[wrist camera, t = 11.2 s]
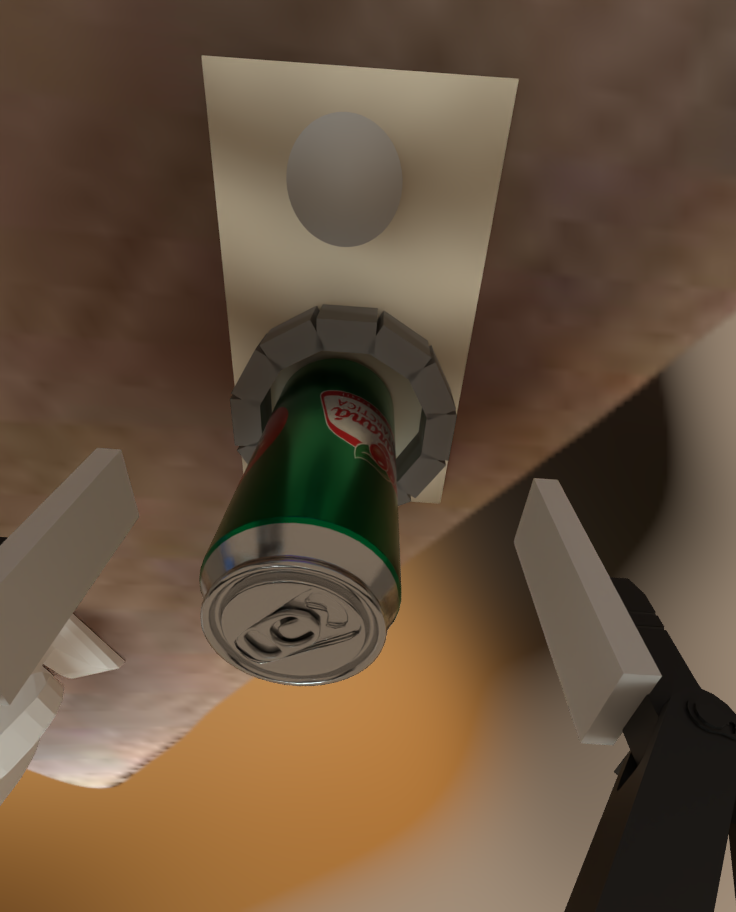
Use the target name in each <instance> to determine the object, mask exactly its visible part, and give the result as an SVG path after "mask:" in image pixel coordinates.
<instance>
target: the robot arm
mask: <svg viewBox="0 0 736 912" xmlns="http://www.w3.org/2000/svg"><path fill="white" fill-rule="evenodd" d="M138 517H139V513H138V510H137V506H136V502H135V499H134V495H133V491H132V487H131V484H130V480H129V476H128V473H127V469H126V465H125V462H124V458H123V454H122V450H120V449H106V448H96V449H95V450H94V451H93V452H92V453H91V454H90V455H89V457H88V458H87V459H86V460H85V461H84V462H83V463H82V464H81V465H80V466H79V467H78V468H77V469H76V470H75V471H74V472H73V473H72V474H71V475H70V476H69V477H68V478H67V479H66V480H65V481H64V482H63V483H62V484H61V485H60V486H59V487H58V488H57V489H56V490H55V491H54V492H53V493H52V494H51V495H50V496H49V497H48V498H47V499H46V500H45V501H44V502H43V503H42V504H41V505H40V506H39V507H38V508H37V509H36V510H35V511H34V512H33V513H32V514H31V515H30V516H29V517H28V518H27V519H26V520H25V521H24V522H23V523H22V524H21V525H20V526H19V527H18V528H17V529H16V530H15V531H14V532H13V533H12V534H11V535H10V536H9V537H8V538H7V537H0V705H9V706H10V704H11V703H12V701H13V700H14V698H15V697H16V695H17V694H18V692H19V691H20V690H21V688H22V687H23V685H24V684H25V682H26V681H27V679H28V678H29V676H30V675H31V674H32V672H33V671H34V669H35V668H36V666H37V665H38V663H39V662H40V660H41V659H42V657H43V656H44V655H45V653H46V652H47V650H48V649H49V647H50V646H51V644H52V643H53V641H54V640H55V638H56V637H57V636H58V634H59V633H60V631H61V630H62V628H63V627H64V625H65V624H66V622H67V621H68V620H69V618H70V617H71V615H72V614H73V612H74V611H75V609H76V608H77V606H78V605H79V603H80V602H81V601H82V599H83V598H84V596H85V595H86V593H87V592H88V590H89V589H90V587H91V586H92V585H93V583H94V582H95V580H96V579H97V577H98V576H99V574H100V573H101V571H102V570H103V568H104V567H105V566H106V564H107V563H108V561H109V560H110V558H111V557H112V555H113V554H114V552H115V551H116V550H117V548H118V547H119V545H120V544H121V542H122V541H123V539H124V538H125V536H126V535H127V533H128V532H129V531H130V529H131V528H132V526H133V525H134V523H135V522H136V520H137V519H138ZM514 545H515V548H516V551H517V553H518V557H519V559H520V562H521V566H522V569H523V571H524V575H525V578H526V581H527V584H528V587H529V589H530V593H531V595H532V599H533V602H534V605H535V608H536V611H537V614H538V617H539V620H540V623H541V626H542V629H543V632H544V635H545V638H546V641H547V644H548V647H549V650H550V653H551V656H552V659H553V662H554V665H555V668H556V671H557V674H558V677H559V680H560V683H561V686H562V689H563V692H564V695H565V698H566V701H567V704H568V707H569V710H570V713H571V716H572V720H573V723H574V725H575V728H576V731H577V734H578V738H579V741H580V743H587V744H602V745H614V744H615V742H616V741H617V739H618V738H619V736H620V735H621V734H622V732H623V733H624V736H625V738H626V740H627V743H628V745H629V748H630V751H629V752H628V754H627V755H626V756H625V758H624V759H623V760H622V762H621V763H620V764H619V766H618V767H617V768H616V770H615V771H614V772H615V773H616V774H617V775H618V777H617V779H616V782H615V784H614V787H613V790H612V792H611V794H610V797H609V800H608V802H607V805H606V807H605V810H604V812H603V815H602V818H601V820H600V822H599V825H598V827H597V830H596V832H595V835H594V838H593V840H592V843H591V845H590V848H589V850H588V853H587V855H586V858H585V861H584V863H583V865H582V868H581V871H580V873H579V876H578V878H577V881H576V883H575V886H574V888H573V891H572V893H571V896H570V899H569V901H568V903H567V906H566V909H565V911H564V912H714V908H715V903H716V898H717V892H718V887H719V881H720V876H721V871H722V865H723V860H724V854H725V850H726V844H727V839H728V834H729V841H730V851H731V860H732V870H733V879H734V888H735V898H736V714H735V713H734V712H733V711H732V709H731V708H730V707H729V706H728V705H727V704H726V703H724V702H723V701H722V700H720V699H719V698H718V697H716V696H715V695H714V694H712V693H709V692H707V691H705V690H703V689H701V687H700V686H699V685H698V683H697V681H696V680H695V678H694V676H693V675H692V673H691V671H690V670H689V668H688V666H687V665H686V663H685V661H684V660H683V658H682V656H681V655H680V653H679V651H678V649H677V648H676V646H675V644H674V643H673V641H672V639H671V638H670V636H669V634H668V632H667V631H666V630H664V626H663V624H662V622H661V621H660V619H659V617H658V616H656V615H655V610H654V609H653V607H652V605H651V604H650V602H649V601H648V599H647V597H646V595H645V594H644V593H643V592H642V591H641V590H640V589H639V588H638V587H637V586H635V585H634V584H633V583H632V582H631V581H630V580H629V579H626V578H610V577H609V576H608V574H607V572H606V570H605V568H604V566H603V564H602V562H601V561H600V559H599V557H598V555H597V553H596V551H595V549H594V547H593V545H592V543H591V542H590V540H589V538H588V536H587V534H586V532H585V530H584V529H583V527H582V525H581V523H580V521H579V519H578V517H577V515H576V514H575V511H574V510H573V508H572V506H571V504H570V502H569V500H568V498H567V496H566V495H565V493H564V491H563V489H562V487H561V485H560V483H559V481H558V480H552V479H538V478H534V479H533V482H532V485H531V489H530V492H529V495H528V498H527V501H526V504H525V507H524V511H523V514H522V517H521V520H520V523H519V526H518V530H517V533H516V536H515V539H514Z"/></svg>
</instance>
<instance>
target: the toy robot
mask: <svg viewBox="0 0 736 912" xmlns="http://www.w3.org/2000/svg"><path fill="white" fill-rule="evenodd" d="M124 663H125V661H124V660H123V659H122V658H121V657H120V656H119V655H118V654H117V653H116V652H114V651H113V650H112V649H111V648H110V647H109V646H108V645H107V644H106V643H105V642H104V641H102V640H101V639H100V638H99V637H98V636H97V635H96V634H95V633H94V632H93V631H91V630H90V629H89V628H88V627H87V626H86V625H85V624H84V623H83V622H82V621H80V620H79V619H78V618H77V617H76V616H75V615H74V614H72V615H71V617H70V618H69V620H68V621H67V622H66V624H65V625H64V627H63V628H62V630H61V631H60V633H59V634H58V636H57V637H56V638H55V640H54V641H53V643H52V644H51V646H50V647H49V649H48V650H47V652H46V653H45V655H44V656H43V657H42V659H41V660H40V662H39V663H38V665H37V666H36V668H35V669H34V671H33V672H32V674H31V675H30V676H29V678H28V679H27V681H26V682H25V684H24V685H23V687H22V688H21V690H20V691H19V692H18V694H17V695H16V697H15V698H14V700H13V701H12V703H11V704H10V706H9V705H0V805H1V804H2V803H3V801H4V800H5V799H6V797H7V796H8V795H9V794H10V792H11V791H12V789H13V788H14V787H15V785H16V784H17V783H18V781H19V780H20V778H21V777H22V775H23V774H24V772H25V770H26V769H27V767H28V766H29V764H30V762H31V760H32V758H33V756H34V754H35V752H36V750H37V747H38V744H39V741H40V737H41V736H42V735H43V733H44V732H45V731H46V729H47V728H48V726H49V725H50V723H51V722H52V720H53V719H54V717H55V716H56V714H57V712H58V709H59V707H60V705H61V703H62V700H63V693H64V686H63V684H62V683H60V682H59V681H58V680H57V679H55V678H54V676H53V675H52V674H51V673H50V672H49V671H48V670H47V669H45V668H44V667H43V666H42V665H43V664H44V665H46V666H47V667H49V668H50V669H52V670H53V671H55V672H57V673H58V674H60V675H61V676H64V677H67V678H70V679H73V678H78V677H82V676H87V675H91V674H96V673H100V672H105V671H109V670H114V669H118V668H120V667H121V666H122V665H123V664H124Z"/></svg>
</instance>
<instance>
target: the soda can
mask: <svg viewBox="0 0 736 912" xmlns="http://www.w3.org/2000/svg"><path fill="white" fill-rule="evenodd" d="M199 582H200V591H201V594H202V597H203V602H202V607H201V626H202V630H203V632H204V635H205V637H206V639H207V641H208V642H209V644H210V646H211V647H212V648H213V649H214V650H215V652H216V653H217V654H218V655H219V656H220V657H222V658H223V659H224V660H225V661H226V662H228V663H229V664H231V665H232V666H234V667H235V668H237V669H239V670H241V671H243V672H244V673H246V674H249V675H251V676H254V677H256V678H259V679H262V680H266V681H269V682H273V683H278V684H284V685H293V686H315V685H325V684H330V683H334V682H338V681H342V680H345V679H348V678H350V677H352V676H354V675H356V674H358V673H360V672H361V671H363V670H364V669H366V668H367V667H368V666H369V665H370V664H372V663H373V662H374V661H375V659H376V658H377V657H378V655H379V654H380V652H381V650H382V648H383V646H384V643H385V640H386V635H387V630H388V629H389V627H390V626H391V624H392V623H393V622H394V620H395V618H396V616H397V614H398V611H399V608H400V603H401V571H400V547H399V522H398V497H397V472H396V448H395V423H394V406H393V401H392V398H391V395H390V392H389V390H388V389H387V387H386V385H385V384H384V382H383V381H382V380H381V379H380V378H379V377H378V376H377V375H376V374H375V373H374V372H373V371H371V370H370V369H368V368H367V367H365V366H363V365H361V364H359V363H357V362H354V361H350V360H346V359H338V358H330V359H322V360H317V361H314V362H312V363H309V364H307V365H305V366H304V367H302V368H300V369H299V370H298V371H297V372H295V373H294V374H293V375H292V376H291V377H290V379H289V380H288V381H287V383H286V385H285V386H284V388H283V390H282V392H281V395H280V397H279V399H278V401H277V403H276V405H275V407H274V410H273V412H272V414H271V416H270V418H269V420H268V422H267V425H266V427H265V429H264V431H263V433H262V435H261V437H260V440H259V442H258V444H257V446H256V448H255V450H254V452H253V455H252V457H251V459H250V461H249V463H248V465H247V467H246V470H245V472H244V474H243V476H242V478H241V480H240V482H239V485H238V487H237V489H236V491H235V493H234V495H233V497H232V500H231V502H230V504H229V506H228V508H227V510H226V512H225V515H224V517H223V519H222V521H221V523H220V525H219V527H218V530H217V532H216V534H215V536H214V538H213V540H212V542H211V545H210V547H209V549H208V551H207V553H206V555H205V558H204V560H203V563H202V566H201V569H200V578H199Z"/></svg>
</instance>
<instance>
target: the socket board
mask: <svg viewBox="0 0 736 912" xmlns="http://www.w3.org/2000/svg"><path fill="white" fill-rule="evenodd" d="M201 56H202V66H203V76H204V86H205V96H206V106H207V116H208V126H209V136H210V146H211V156H212V166H213V176H214V186H215V195H216V205H217V215H218V225H219V235H220V245H221V255H222V265H223V275H224V285H225V295H226V305H227V315H228V325H229V334H230V344H231V354H232V364H233V374H234V384H235V387H234V389H233V391H232V392H231V394H233V395H232V397H231V398H230V404H231V413H232V422H233V432H234V441H235V445H237V446H239V448H238V449H237V451H238V452H239V454H240V455H241V456H242V464H243V474H244V472H245V470H246V467H247V465H248V463H249V461H250V459H251V457H252V455H253V452H254V450H255V448H256V446H257V444H258V442H259V440H260V437H261V435H262V433H263V431H264V429H265V427H266V425H267V422H268V420H269V418H270V416H271V414H272V412H273V410H274V407H275V405H276V403H277V401H278V399H279V397H280V395H281V392H282V390H283V388H284V386H285V385H286V383H287V381H288V380H289V379H290V377H291V376H292V375H293V374H294V373H295V372H297V371H298V370H299V369H300V368H302V367H304V366H305V365H307V364H309V363H312V362H314V361H317V360H322V359H330V358H338V359H346V360H350V361H354V362H357V363H359V364H361V365H363V366H365V367H367V368H368V369H370V370H371V371H373V372H374V373H375V374H376V375H377V376H378V377H379V378H380V379H381V380H382V381H383V382H384V384H385V385H386V387H387V389H388V390H389V392H390V395H391V398H392V401H393V406H394V423H395V448H396V472H397V497H398V506H399V505H402V504H405V503H408V502H424V503H438V504H440V502H441V496H442V491H443V485H444V480H445V475H446V469H447V464H448V461H449V455H450V450H451V444H452V439H453V434H454V428H455V423H456V418H457V410H458V404H459V399H460V394H461V388H462V383H463V377H464V372H465V367H466V361H467V356H468V350H469V345H470V340H471V334H472V329H473V323H474V318H475V313H476V307H477V302H478V296H479V291H480V286H481V280H482V275H483V269H484V264H485V259H486V253H487V248H488V242H489V237H490V232H491V226H492V221H493V215H494V210H495V205H496V199H497V194H498V188H499V183H500V178H501V172H502V167H503V161H504V156H505V151H506V145H507V140H508V134H509V129H510V124H511V118H512V113H513V107H514V102H515V97H516V91H517V86H518V80H519V79H514V78H500V77H487V76H473V75H460V74H446V73H433V72H419V71H406V70H392V69H379V68H365V67H352V66H338V65H325V64H311V63H298V62H284V61H271V60H257V59H244V58H230V57H217V56H203V55H201Z"/></svg>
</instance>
